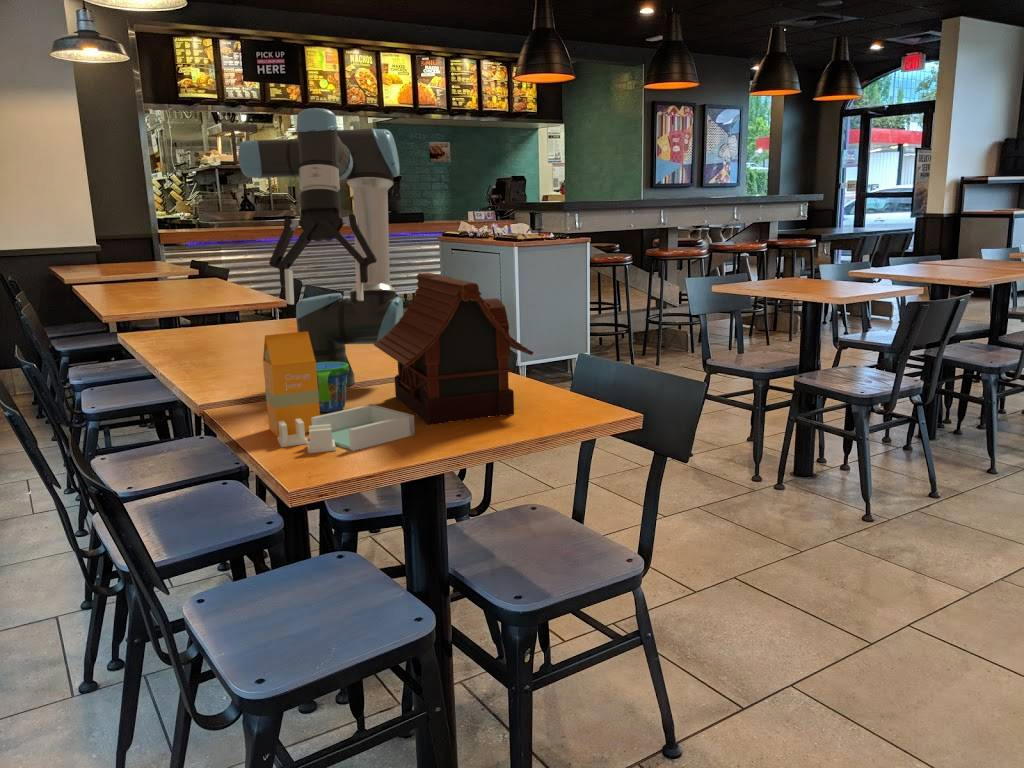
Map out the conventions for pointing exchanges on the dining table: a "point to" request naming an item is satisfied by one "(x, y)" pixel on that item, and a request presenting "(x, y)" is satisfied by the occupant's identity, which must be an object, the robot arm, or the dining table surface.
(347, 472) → the dining table surface
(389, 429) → the tray
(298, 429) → the clip
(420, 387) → the house
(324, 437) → the white upright piece
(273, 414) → the orange juice
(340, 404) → the snack cup
